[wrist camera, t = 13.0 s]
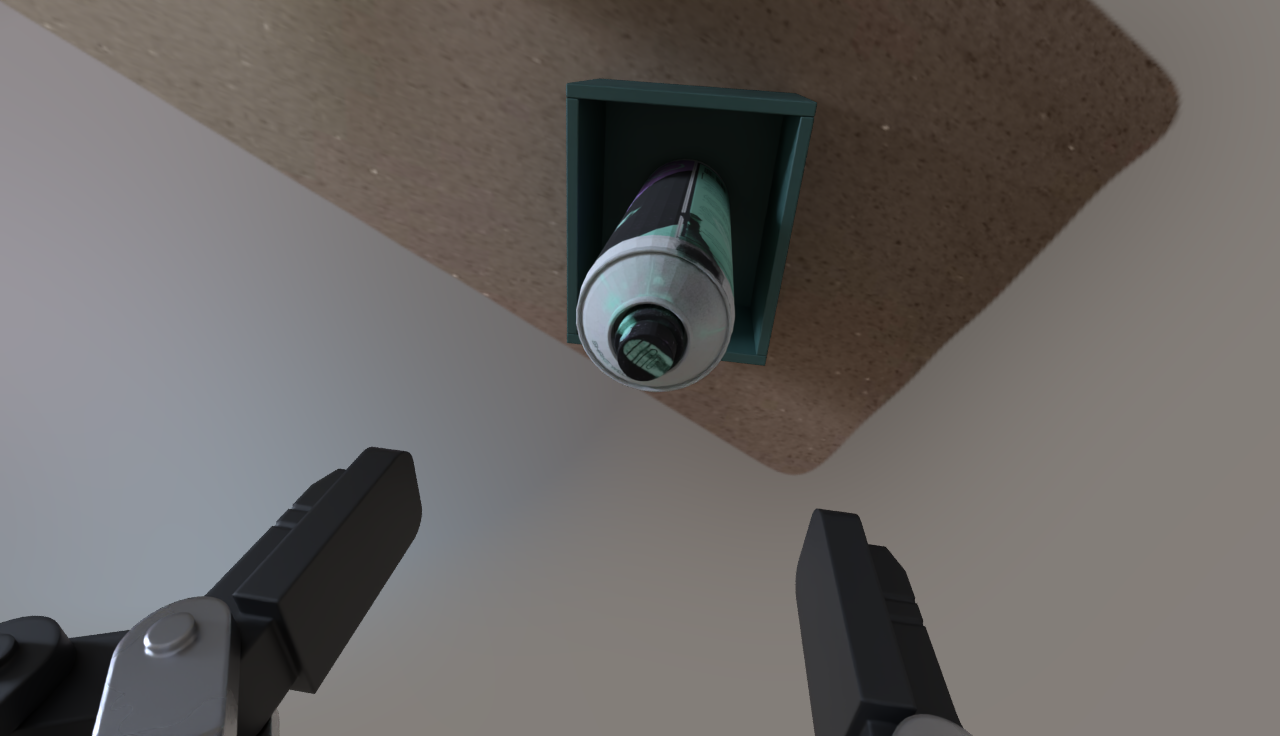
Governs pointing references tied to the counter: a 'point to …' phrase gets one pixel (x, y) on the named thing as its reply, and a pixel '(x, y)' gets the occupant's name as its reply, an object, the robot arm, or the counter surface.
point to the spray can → (663, 283)
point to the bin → (700, 130)
